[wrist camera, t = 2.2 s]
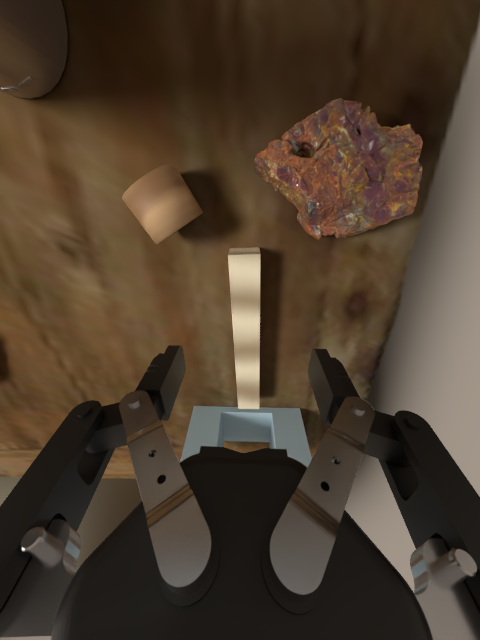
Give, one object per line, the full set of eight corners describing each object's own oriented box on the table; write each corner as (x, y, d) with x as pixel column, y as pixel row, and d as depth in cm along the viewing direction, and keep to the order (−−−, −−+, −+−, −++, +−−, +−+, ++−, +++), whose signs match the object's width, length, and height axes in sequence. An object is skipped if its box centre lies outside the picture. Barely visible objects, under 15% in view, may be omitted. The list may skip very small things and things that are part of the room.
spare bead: (139, 199, 21) (110, 202, 16) (181, 165, 19) (162, 160, 15) (167, 237, 22) (147, 249, 18) (207, 210, 21) (196, 216, 17)
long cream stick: (230, 247, 23) (227, 255, 21) (259, 246, 23) (260, 254, 20) (239, 392, 34) (238, 408, 32) (258, 392, 34) (259, 408, 32)
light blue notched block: (194, 405, 36) (168, 510, 24) (299, 408, 35) (324, 516, 24) (199, 434, 40) (179, 535, 28) (294, 437, 39) (312, 541, 28)
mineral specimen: (273, 261, 22) (269, 236, 15) (256, 186, 22) (246, 129, 15) (406, 227, 20) (471, 180, 13) (387, 145, 20) (441, 57, 13)
